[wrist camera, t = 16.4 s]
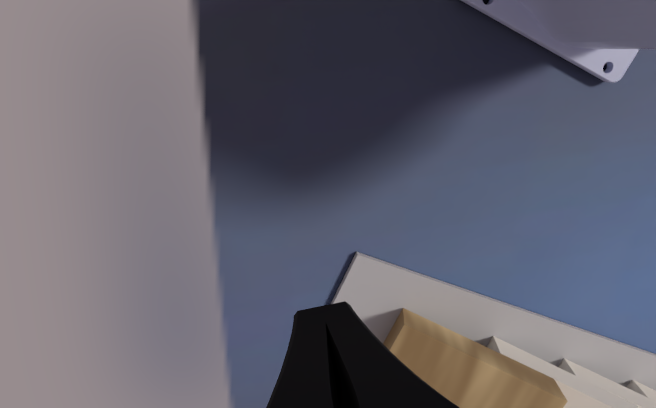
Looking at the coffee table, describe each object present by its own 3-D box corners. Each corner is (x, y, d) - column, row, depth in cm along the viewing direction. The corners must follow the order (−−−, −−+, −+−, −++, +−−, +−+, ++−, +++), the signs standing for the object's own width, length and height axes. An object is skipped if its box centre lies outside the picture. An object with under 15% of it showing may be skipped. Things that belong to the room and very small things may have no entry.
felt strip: (290, 384, 24) (291, 388, 24) (356, 251, 22) (357, 254, 21) (672, 474, 33) (676, 478, 32) (749, 386, 30) (754, 389, 30)
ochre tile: (364, 395, 23) (517, 469, 22) (404, 324, 21) (567, 401, 21) (365, 374, 24) (508, 443, 24) (403, 307, 23) (553, 378, 23)
